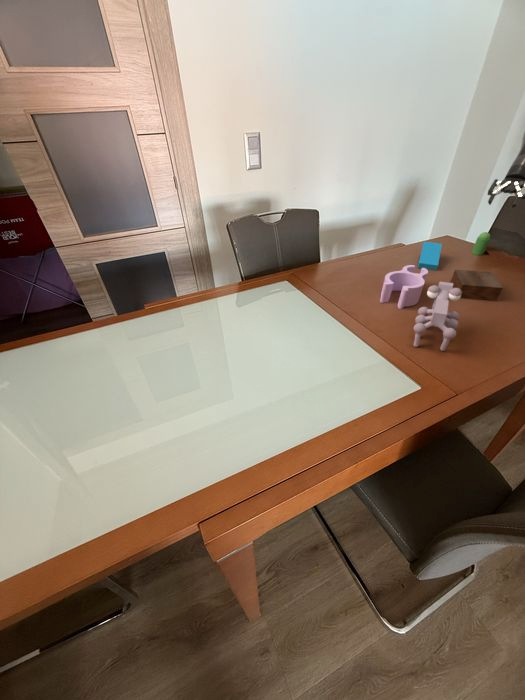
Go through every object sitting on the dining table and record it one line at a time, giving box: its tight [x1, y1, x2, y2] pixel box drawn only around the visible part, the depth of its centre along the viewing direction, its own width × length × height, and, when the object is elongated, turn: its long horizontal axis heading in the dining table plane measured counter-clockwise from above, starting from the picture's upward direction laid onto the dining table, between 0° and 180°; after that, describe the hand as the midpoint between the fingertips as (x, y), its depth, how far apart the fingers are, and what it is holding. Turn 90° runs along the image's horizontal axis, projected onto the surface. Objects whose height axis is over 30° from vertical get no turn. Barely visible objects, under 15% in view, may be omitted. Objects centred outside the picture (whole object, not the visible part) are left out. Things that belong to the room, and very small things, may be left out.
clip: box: [379, 264, 429, 310], centre depth 106 cm, size 20×12×7 cm, turn 137°
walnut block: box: [449, 269, 504, 302], centre depth 107 cm, size 12×12×5 cm
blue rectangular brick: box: [417, 241, 443, 271], centre depth 128 cm, size 7×7×18 cm
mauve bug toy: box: [413, 281, 462, 352], centre depth 86 cm, size 20×11×14 cm, turn 152°
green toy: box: [471, 231, 491, 256], centre depth 130 cm, size 5×5×9 cm
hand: (501, 205), depth 129 cm, fingers open, 8 cm apart
